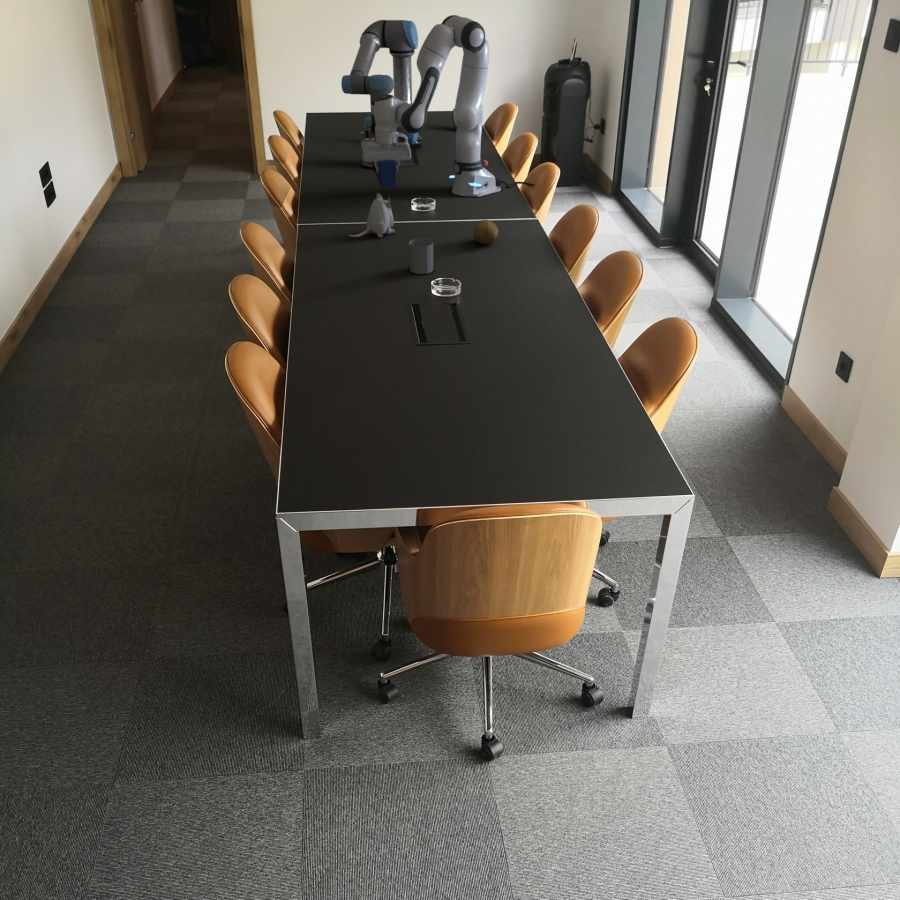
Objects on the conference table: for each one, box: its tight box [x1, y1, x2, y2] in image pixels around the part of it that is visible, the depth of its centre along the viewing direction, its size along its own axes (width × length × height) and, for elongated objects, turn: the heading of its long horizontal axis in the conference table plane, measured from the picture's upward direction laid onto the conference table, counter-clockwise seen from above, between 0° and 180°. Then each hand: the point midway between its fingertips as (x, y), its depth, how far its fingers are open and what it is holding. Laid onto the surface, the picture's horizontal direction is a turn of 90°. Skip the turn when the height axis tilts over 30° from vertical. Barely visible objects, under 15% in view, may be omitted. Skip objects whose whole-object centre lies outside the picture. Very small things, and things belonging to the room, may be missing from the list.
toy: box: [347, 192, 396, 238], centre depth 333 cm, size 9×24×15 cm, turn 137°
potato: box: [472, 219, 499, 245], centre depth 330 cm, size 10×14×8 cm
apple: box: [451, 107, 457, 131], centre depth 487 cm, size 11×11×13 cm
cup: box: [408, 237, 434, 275], centre depth 305 cm, size 8×8×10 cm
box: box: [373, 160, 397, 189], centre depth 372 cm, size 28×6×11 cm, turn 10°
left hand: (381, 169), depth 383 cm, fingers open, 6 cm apart
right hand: (387, 171), depth 364 cm, fingers closed on box, 6 cm apart
